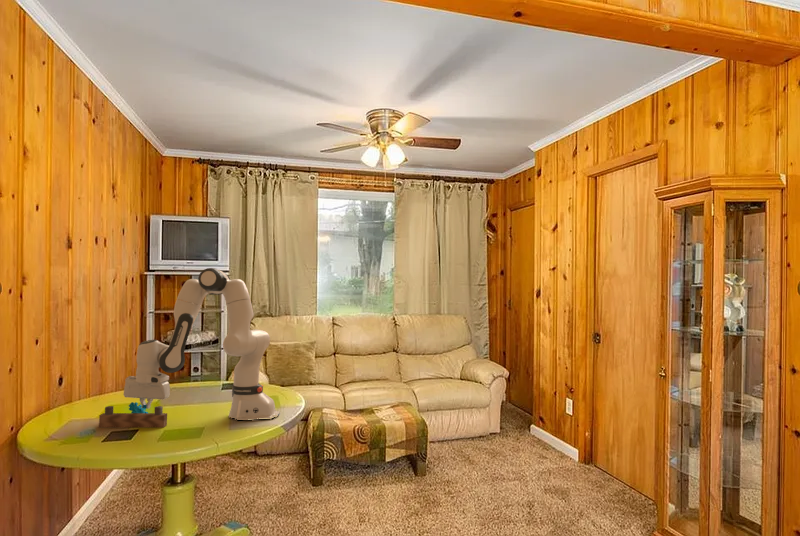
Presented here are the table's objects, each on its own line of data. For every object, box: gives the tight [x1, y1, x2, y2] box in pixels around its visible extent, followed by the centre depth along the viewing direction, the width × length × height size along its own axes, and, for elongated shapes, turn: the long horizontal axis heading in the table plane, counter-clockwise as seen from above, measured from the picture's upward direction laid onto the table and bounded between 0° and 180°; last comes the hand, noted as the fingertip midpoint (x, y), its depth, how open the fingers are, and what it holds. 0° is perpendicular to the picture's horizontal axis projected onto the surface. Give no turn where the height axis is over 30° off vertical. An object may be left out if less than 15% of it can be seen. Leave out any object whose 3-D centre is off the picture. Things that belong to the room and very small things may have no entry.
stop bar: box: [98, 405, 168, 428], centre depth 194 cm, size 26×3×8 cm, turn 94°
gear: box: [128, 402, 149, 413], centre depth 203 cm, size 11×6×10 cm
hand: (146, 408), depth 205 cm, fingers closed
